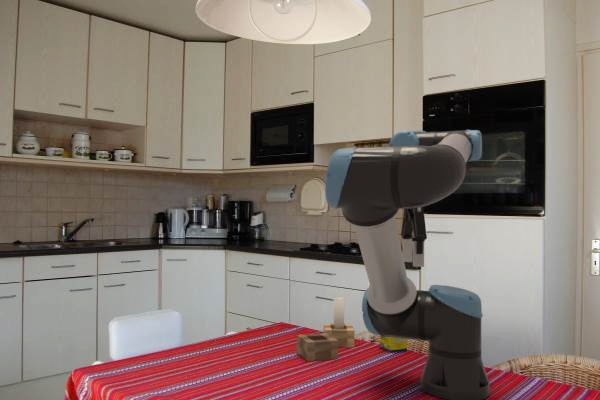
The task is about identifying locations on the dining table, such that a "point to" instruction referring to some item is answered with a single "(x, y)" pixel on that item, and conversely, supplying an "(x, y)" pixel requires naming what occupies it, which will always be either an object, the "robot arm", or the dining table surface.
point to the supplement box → (393, 344)
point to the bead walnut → (317, 347)
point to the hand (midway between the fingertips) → (412, 264)
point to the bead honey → (341, 334)
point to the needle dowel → (338, 313)
